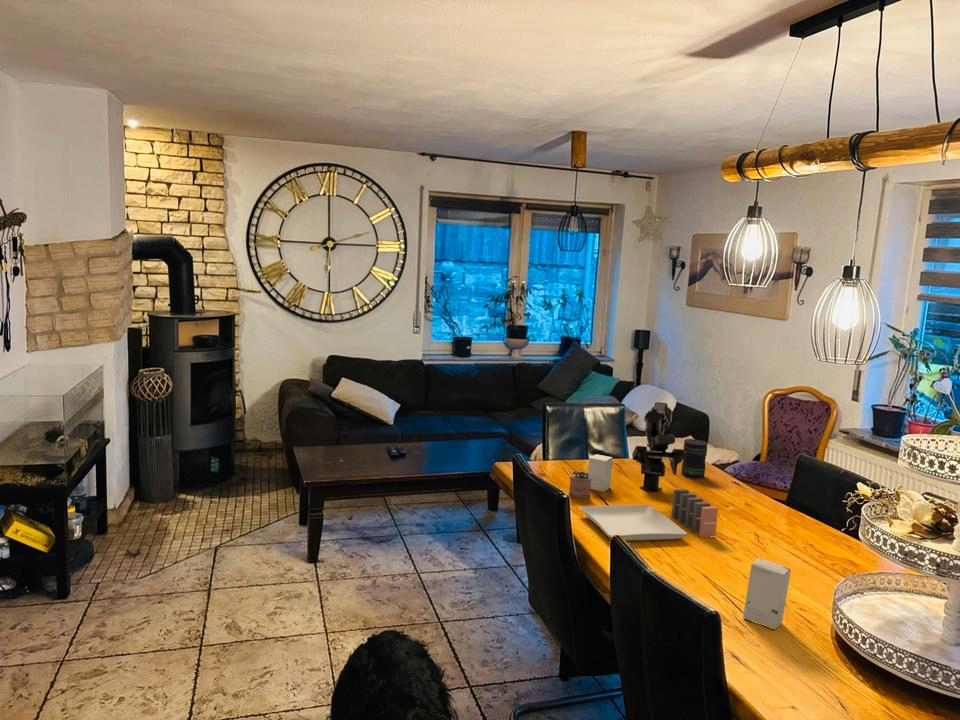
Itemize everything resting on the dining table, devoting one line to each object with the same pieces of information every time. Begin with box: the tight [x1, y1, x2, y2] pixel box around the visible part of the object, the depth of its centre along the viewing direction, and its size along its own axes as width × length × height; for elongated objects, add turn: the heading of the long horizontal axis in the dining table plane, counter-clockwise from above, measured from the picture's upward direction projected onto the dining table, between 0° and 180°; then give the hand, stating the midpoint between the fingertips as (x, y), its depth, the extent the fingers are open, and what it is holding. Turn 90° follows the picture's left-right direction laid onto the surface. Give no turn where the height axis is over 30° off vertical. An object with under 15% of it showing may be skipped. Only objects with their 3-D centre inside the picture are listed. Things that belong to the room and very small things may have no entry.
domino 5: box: [698, 506, 719, 538], centre depth 232 cm, size 2×5×10 cm, turn 104°
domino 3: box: [684, 497, 704, 529], centre depth 240 cm, size 2×5×10 cm, turn 104°
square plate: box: [579, 504, 688, 542], centre depth 236 cm, size 27×27×4 cm
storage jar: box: [680, 438, 708, 480], centre depth 303 cm, size 10×10×15 cm
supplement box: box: [587, 453, 614, 493], centre depth 278 cm, size 7×7×13 cm
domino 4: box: [691, 501, 711, 533], centre depth 236 cm, size 2×5×10 cm, turn 104°
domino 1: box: [671, 488, 690, 519], centre depth 249 cm, size 2×5×10 cm, turn 104°
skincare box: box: [742, 557, 792, 630], centre depth 175 cm, size 8×6×15 cm
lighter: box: [568, 470, 592, 499], centre depth 266 cm, size 8×3×10 cm, turn 84°
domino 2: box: [677, 492, 697, 524], centre depth 245 cm, size 2×5×10 cm, turn 105°
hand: (663, 473), depth 256 cm, fingers open, 9 cm apart
